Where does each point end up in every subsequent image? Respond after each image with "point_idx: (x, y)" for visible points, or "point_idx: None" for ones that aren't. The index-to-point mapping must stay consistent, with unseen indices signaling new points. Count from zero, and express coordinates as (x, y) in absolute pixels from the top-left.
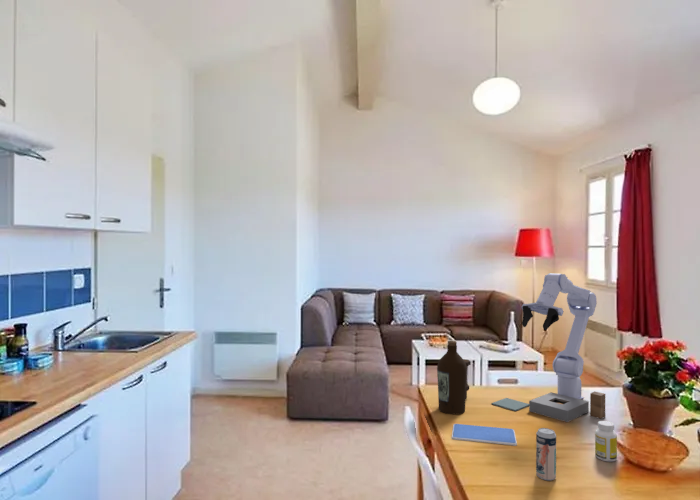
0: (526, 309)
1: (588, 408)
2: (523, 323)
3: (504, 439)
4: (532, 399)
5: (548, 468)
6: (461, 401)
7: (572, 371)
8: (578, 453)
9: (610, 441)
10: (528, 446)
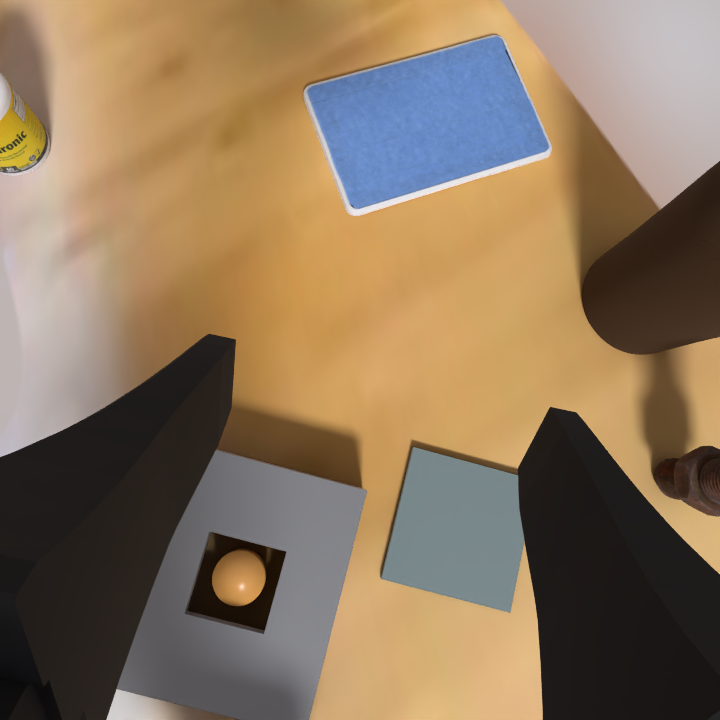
0: (710, 629)
1: None
2: (551, 408)
3: (348, 99)
4: (358, 522)
5: None
6: (610, 261)
7: None
8: (106, 137)
9: None
10: (267, 107)
